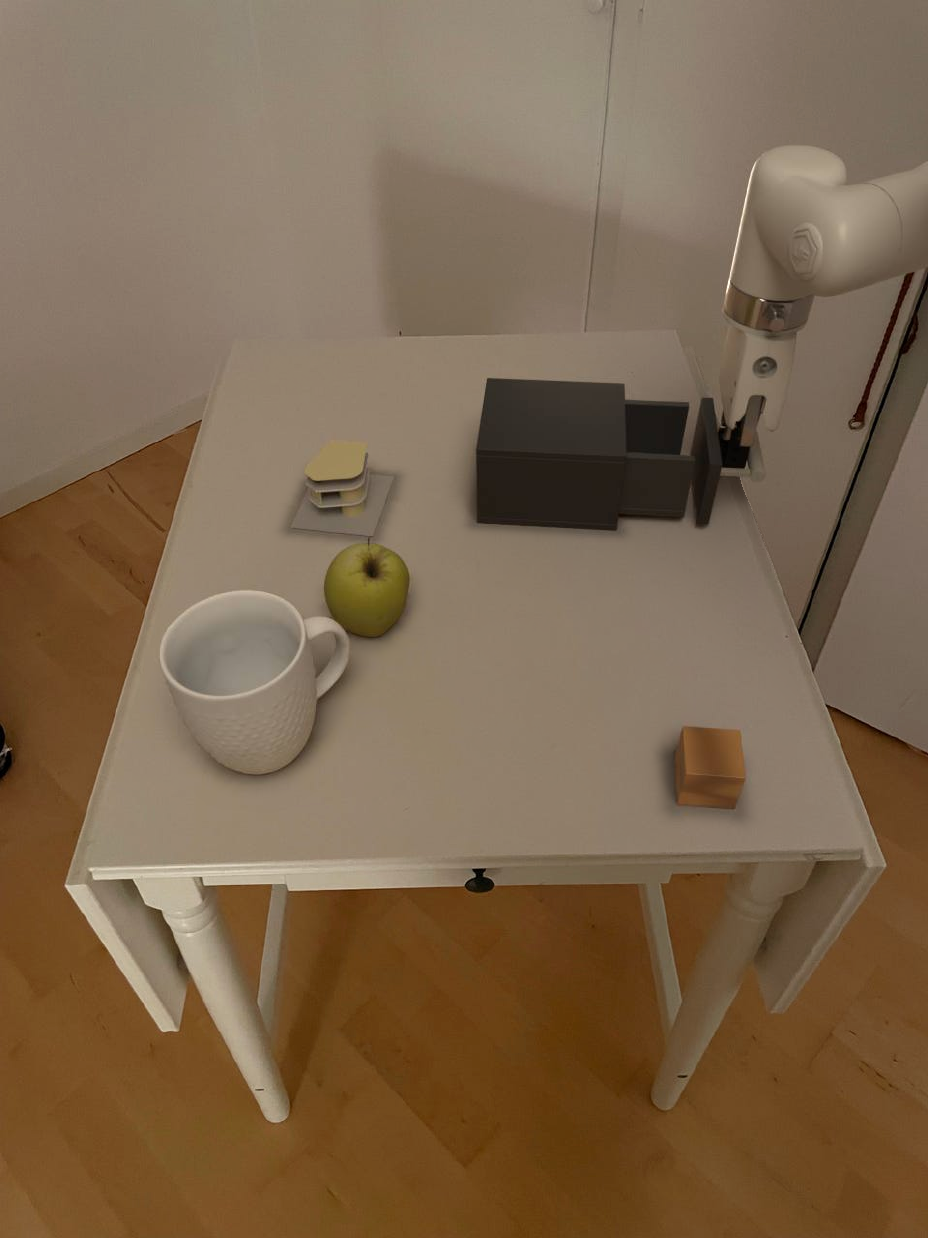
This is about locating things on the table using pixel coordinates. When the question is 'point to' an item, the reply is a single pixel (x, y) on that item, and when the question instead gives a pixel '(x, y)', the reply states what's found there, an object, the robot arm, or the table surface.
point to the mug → (248, 676)
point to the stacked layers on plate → (342, 491)
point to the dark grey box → (551, 453)
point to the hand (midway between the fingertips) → (728, 464)
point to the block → (709, 767)
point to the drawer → (675, 460)
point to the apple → (366, 588)
